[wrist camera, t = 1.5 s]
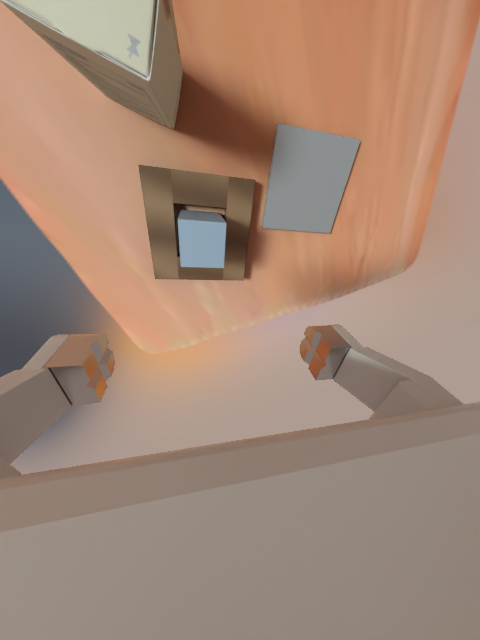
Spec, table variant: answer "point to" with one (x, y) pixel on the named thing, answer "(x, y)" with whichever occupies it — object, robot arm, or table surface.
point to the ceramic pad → (307, 179)
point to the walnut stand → (204, 191)
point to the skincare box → (115, 48)
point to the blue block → (201, 239)
